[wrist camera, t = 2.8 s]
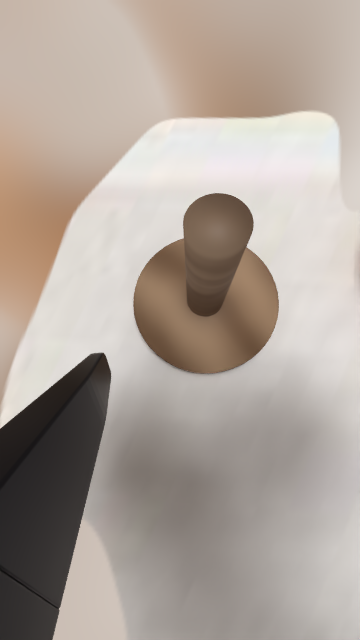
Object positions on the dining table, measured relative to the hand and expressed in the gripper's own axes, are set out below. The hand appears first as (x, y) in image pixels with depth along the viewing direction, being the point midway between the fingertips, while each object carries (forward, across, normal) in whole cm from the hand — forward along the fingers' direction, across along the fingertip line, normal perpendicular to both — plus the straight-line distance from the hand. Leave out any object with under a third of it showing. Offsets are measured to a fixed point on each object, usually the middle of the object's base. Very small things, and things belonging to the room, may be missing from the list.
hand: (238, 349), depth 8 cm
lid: (+12, 0, +5) cm, 13 cm away
